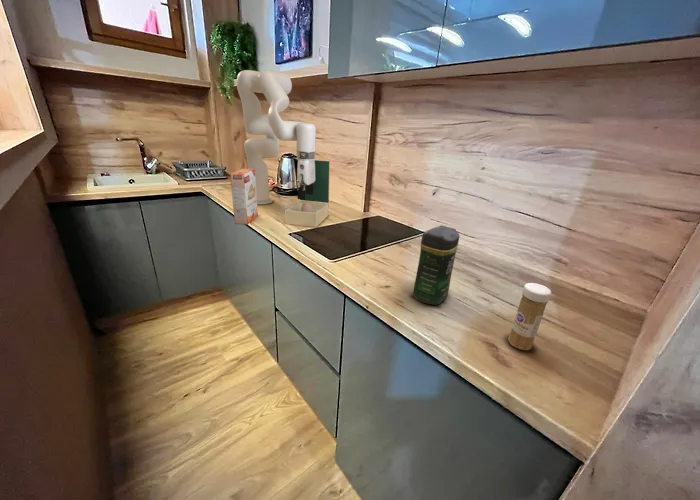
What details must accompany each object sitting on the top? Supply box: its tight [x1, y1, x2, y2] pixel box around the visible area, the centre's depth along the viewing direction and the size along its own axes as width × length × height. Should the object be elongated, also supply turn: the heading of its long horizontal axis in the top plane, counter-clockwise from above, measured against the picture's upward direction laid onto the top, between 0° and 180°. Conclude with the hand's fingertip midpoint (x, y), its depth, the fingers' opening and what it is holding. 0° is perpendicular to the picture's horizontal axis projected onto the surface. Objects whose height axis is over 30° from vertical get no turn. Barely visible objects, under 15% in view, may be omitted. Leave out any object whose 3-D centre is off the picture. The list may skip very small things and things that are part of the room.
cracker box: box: [229, 168, 259, 226], centre depth 127 cm, size 14×6×21 cm, turn 179°
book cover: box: [302, 159, 330, 204], centre depth 140 cm, size 18×14×6 cm
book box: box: [284, 200, 329, 228], centre depth 134 cm, size 18×14×6 cm
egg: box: [301, 201, 313, 213], centre depth 133 cm, size 5×5×7 cm
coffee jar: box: [412, 225, 460, 306], centre depth 76 cm, size 10×8×19 cm
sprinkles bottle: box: [507, 282, 552, 351], centre depth 60 cm, size 5×5×14 cm
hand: (305, 196), depth 131 cm, fingers open, 9 cm apart
